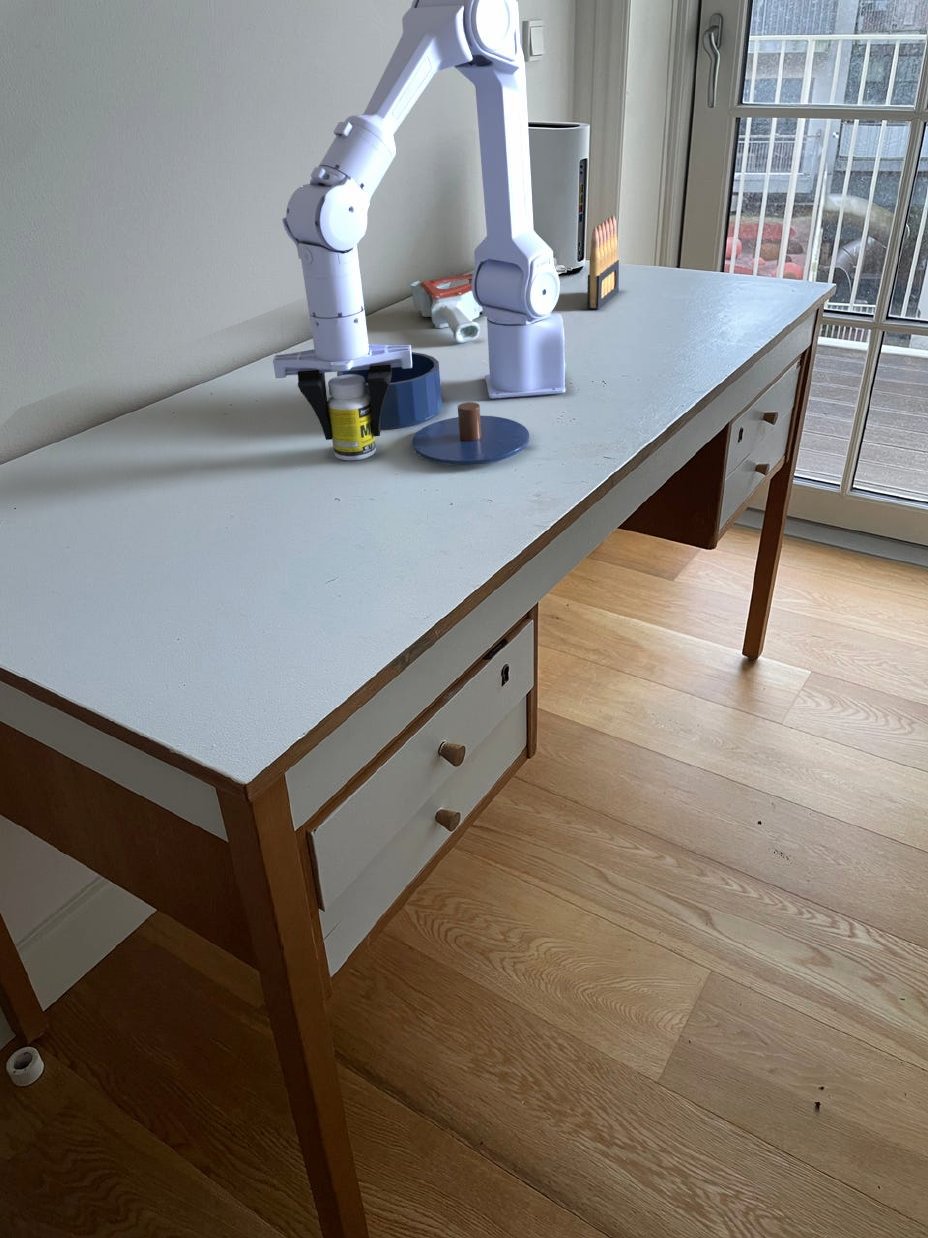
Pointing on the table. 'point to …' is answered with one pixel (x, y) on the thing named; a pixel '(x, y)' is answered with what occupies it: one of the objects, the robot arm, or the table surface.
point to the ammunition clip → (603, 265)
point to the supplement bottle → (350, 418)
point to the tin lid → (470, 438)
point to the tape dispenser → (449, 306)
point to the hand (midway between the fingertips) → (352, 434)
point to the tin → (409, 393)
